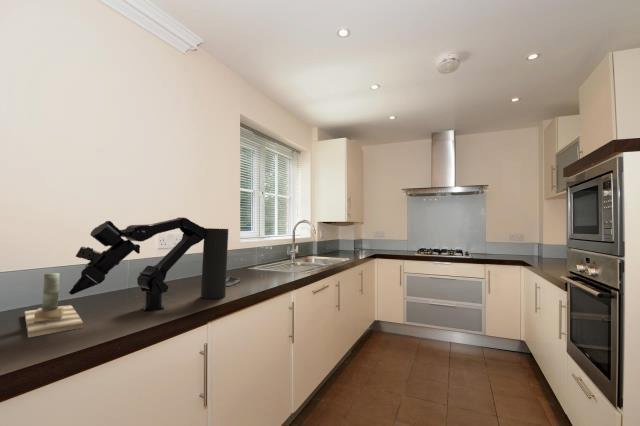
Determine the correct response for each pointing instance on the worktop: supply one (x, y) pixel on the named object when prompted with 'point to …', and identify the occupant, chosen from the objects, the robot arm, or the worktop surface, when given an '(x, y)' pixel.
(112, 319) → the worktop surface
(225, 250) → the vase
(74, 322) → the birch board
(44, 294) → the column on wooden base
